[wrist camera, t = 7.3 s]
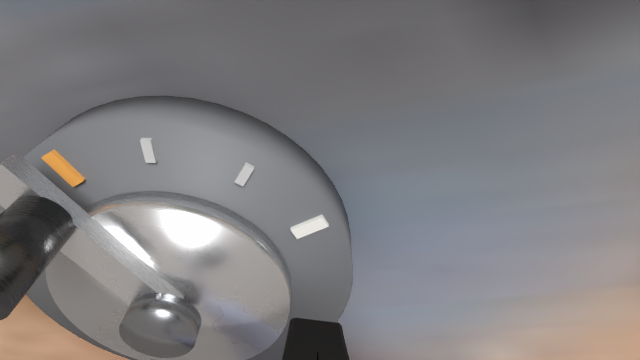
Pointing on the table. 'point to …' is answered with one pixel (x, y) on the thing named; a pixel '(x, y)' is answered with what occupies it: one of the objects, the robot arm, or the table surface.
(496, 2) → the table surface
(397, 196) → the table surface
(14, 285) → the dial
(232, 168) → the dial base
